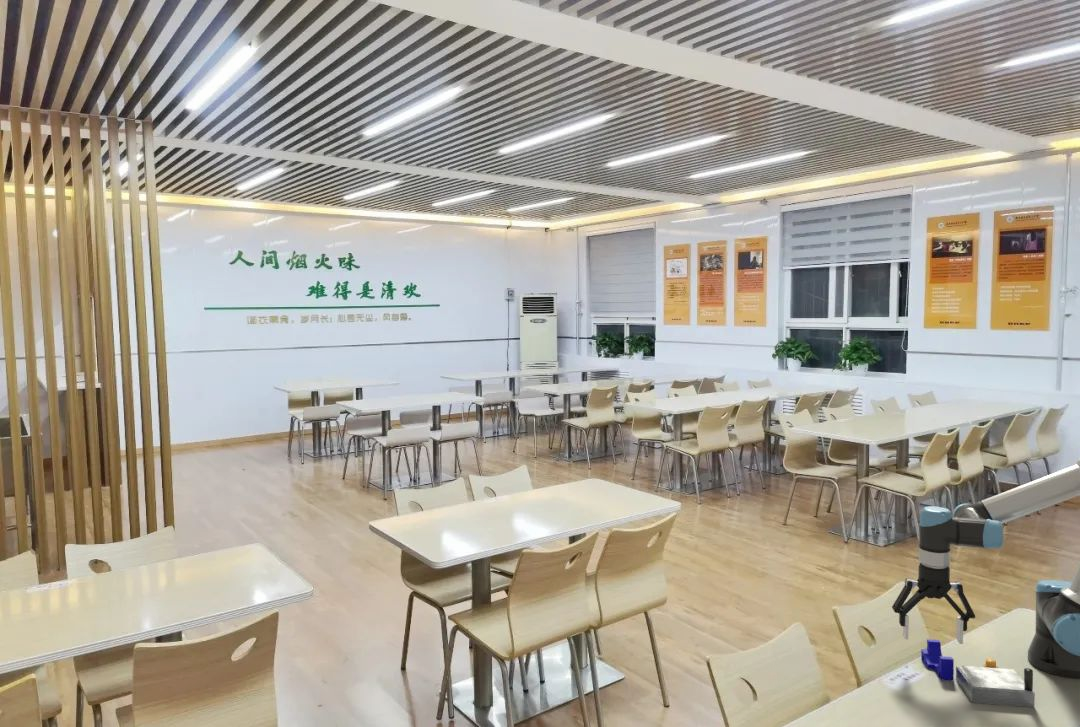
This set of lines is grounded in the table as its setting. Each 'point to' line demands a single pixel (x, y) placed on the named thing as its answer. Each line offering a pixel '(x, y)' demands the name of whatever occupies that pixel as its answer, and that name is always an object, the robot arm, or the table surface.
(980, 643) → the table surface
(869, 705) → the table surface
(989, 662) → the chess pawn
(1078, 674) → the robot arm
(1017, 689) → the grey square plate
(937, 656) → the cable clip
